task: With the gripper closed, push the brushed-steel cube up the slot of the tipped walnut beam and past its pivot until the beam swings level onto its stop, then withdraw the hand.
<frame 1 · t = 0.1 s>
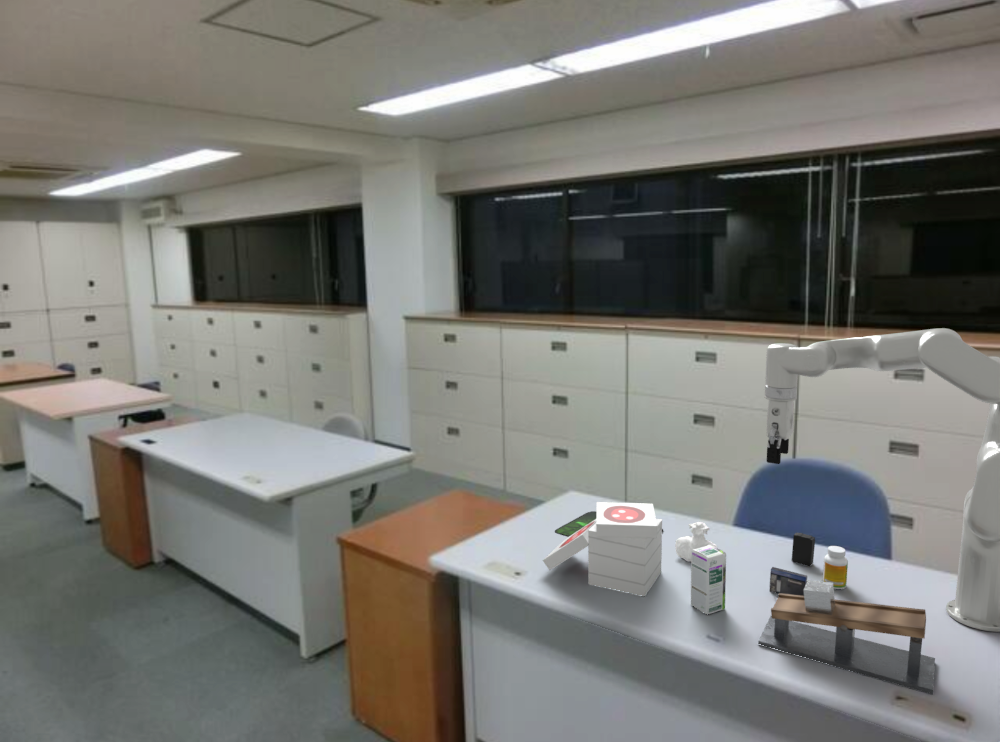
hand: (777, 457, 174), 31 cm above the table, tool pointing down, fingers open, 9 cm apart
mouse mat: (608, 532, 208), on the table
supplement bottle: (834, 585, 172), on the table
pizza boxes: (605, 574, 181), on the table
ink cartridge: (802, 563, 184), on the table
beam: (846, 615, 142), point 9 cm above the table, hinge at 8.3°, touching steel cube
mini dv tape: (787, 595, 168), on the table
white lumpy figure: (697, 559, 188), on the table
steel cube: (820, 608, 144), point 9 cm above the table, tilted 8°, touching beam
pivot stand: (844, 653, 143), on the table
syrup box: (707, 608, 163), on the table
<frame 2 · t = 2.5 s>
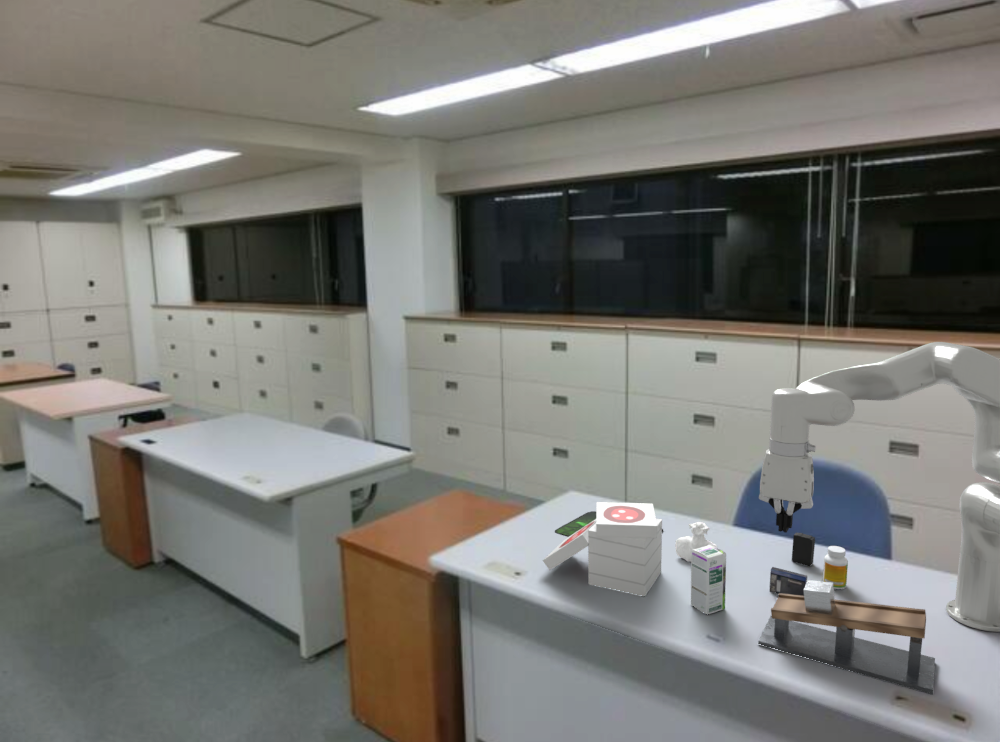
hand: (783, 529, 146), 25 cm above the table, tool pointing down, fingers closed
nothing on the table moved.
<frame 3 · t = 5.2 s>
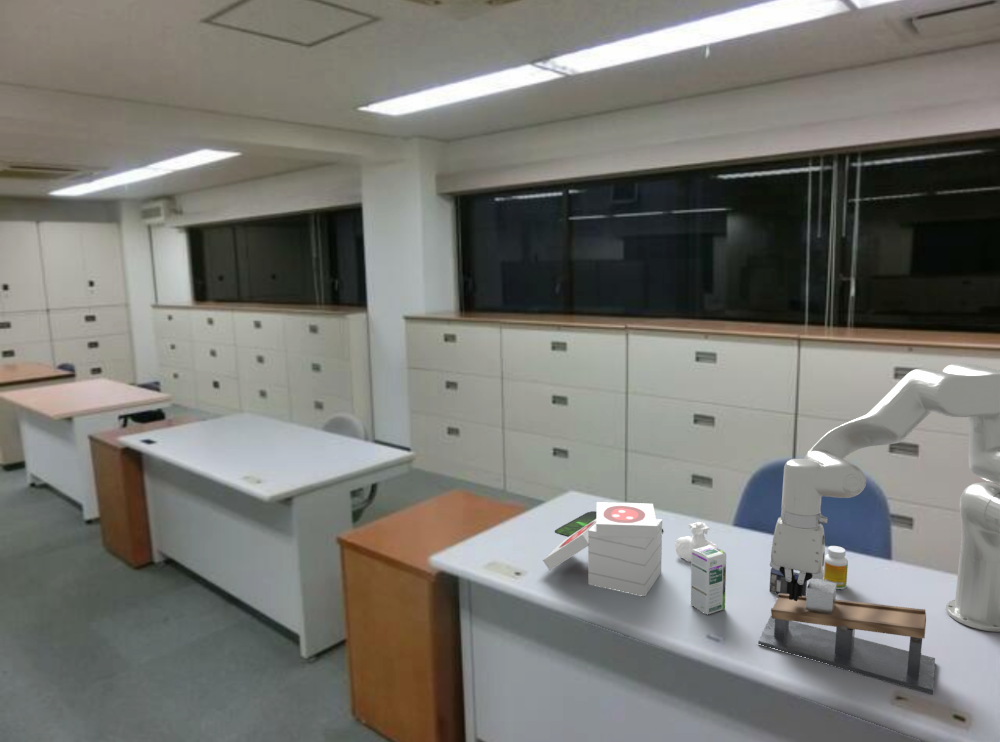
hand: (794, 597, 147), 10 cm above the table, tool pointing down, fingers closed
steel cube: (820, 607, 144), point 9 cm above the table, touching beam, gripper
everything else where it was.
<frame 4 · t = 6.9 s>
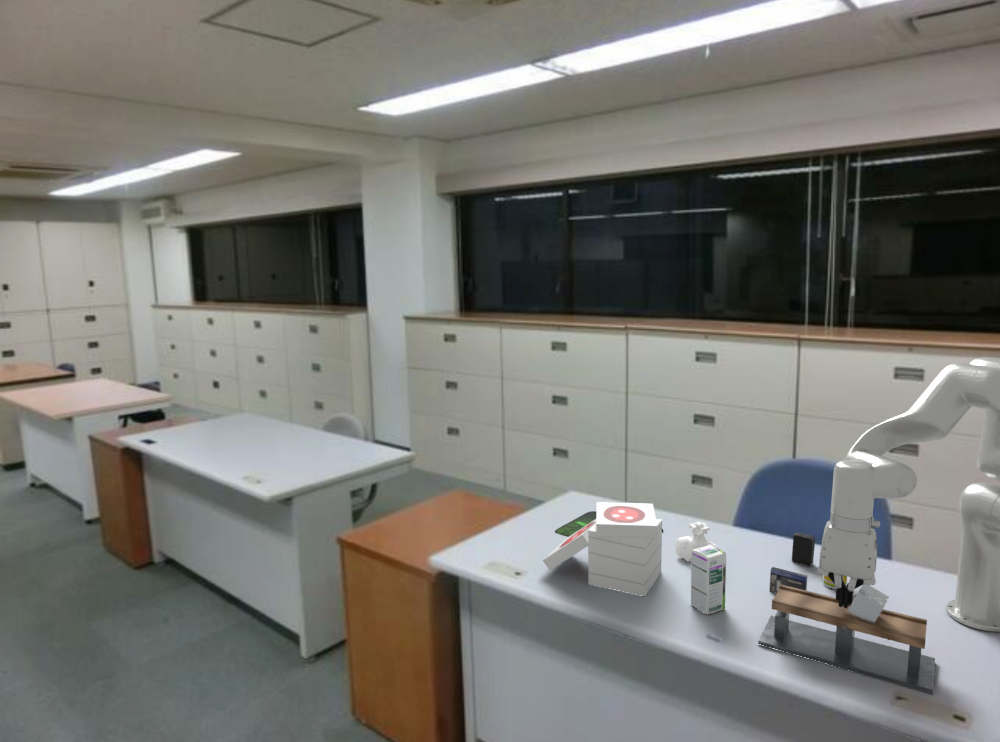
hand: (843, 604, 141), 11 cm above the table, tool pointing down, fingers closed
beam: (846, 615, 142), point 9 cm above the table, hinge at -0.5°
steel cube: (862, 613, 139), point 10 cm above the table, tilted 20°, touching gripper
everything else where it was.
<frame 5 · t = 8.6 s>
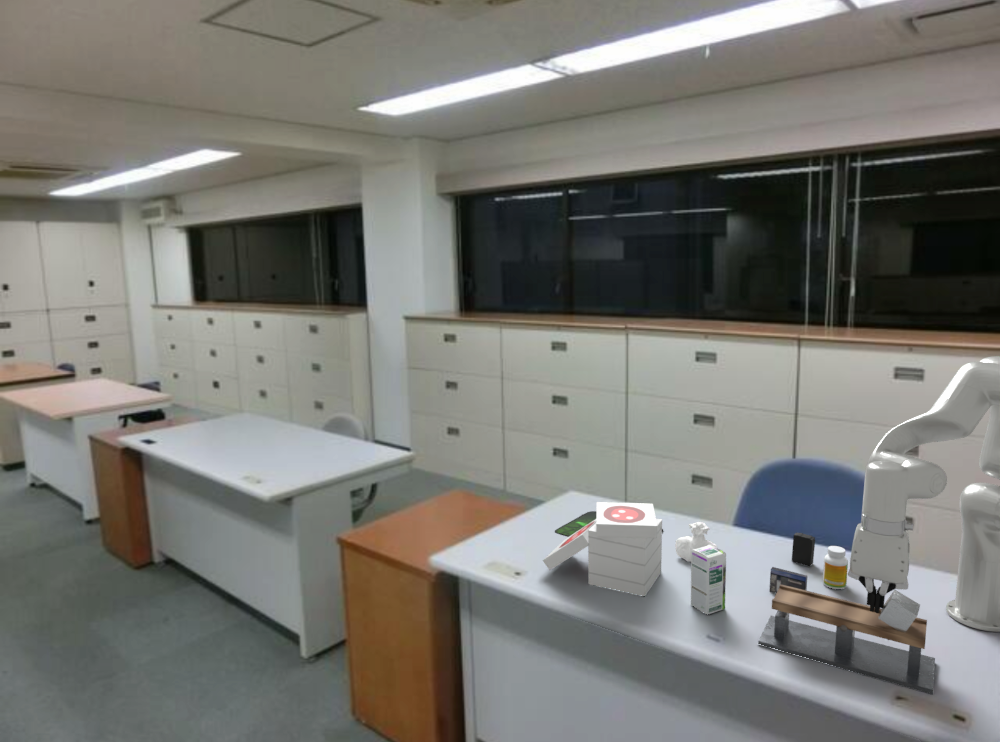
hand: (874, 609, 138), 12 cm above the table, tool pointing down, fingers closed
beam: (846, 615, 142), point 9 cm above the table, hinge at -0.7°, touching steel cube
steel cube: (892, 620, 136), point 10 cm above the table, tilted 23°, touching beam, gripper
everything else where it was.
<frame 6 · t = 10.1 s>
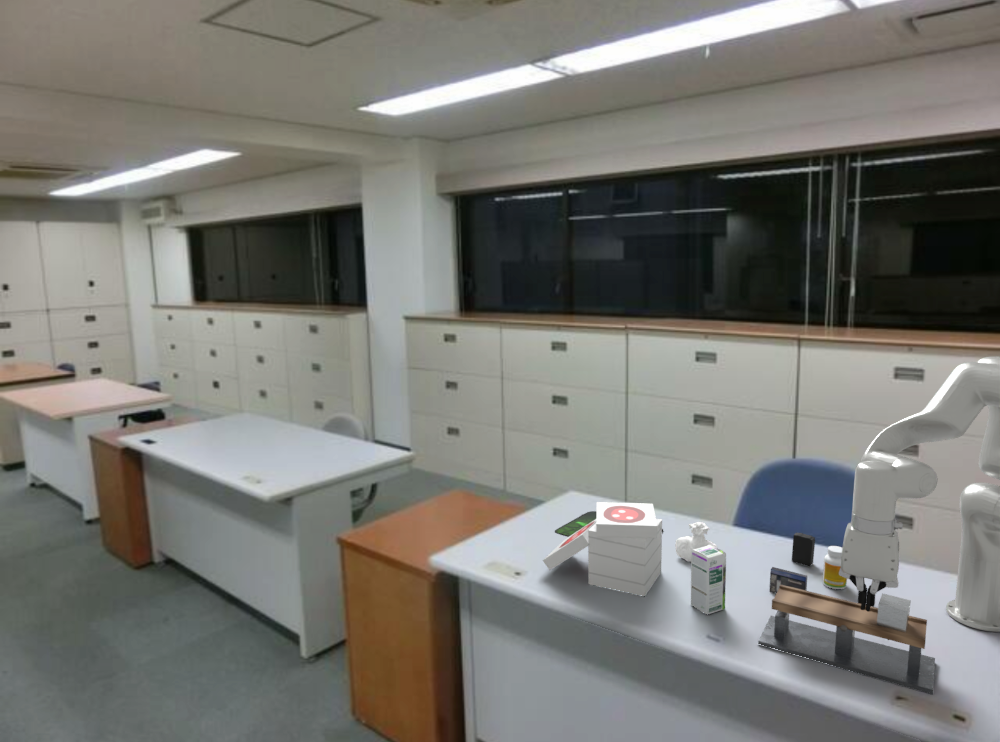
hand: (865, 607, 139), 12 cm above the table, tool pointing down, fingers closed
steel cube: (892, 625, 136), point 9 cm above the table, touching beam
everything else where it was.
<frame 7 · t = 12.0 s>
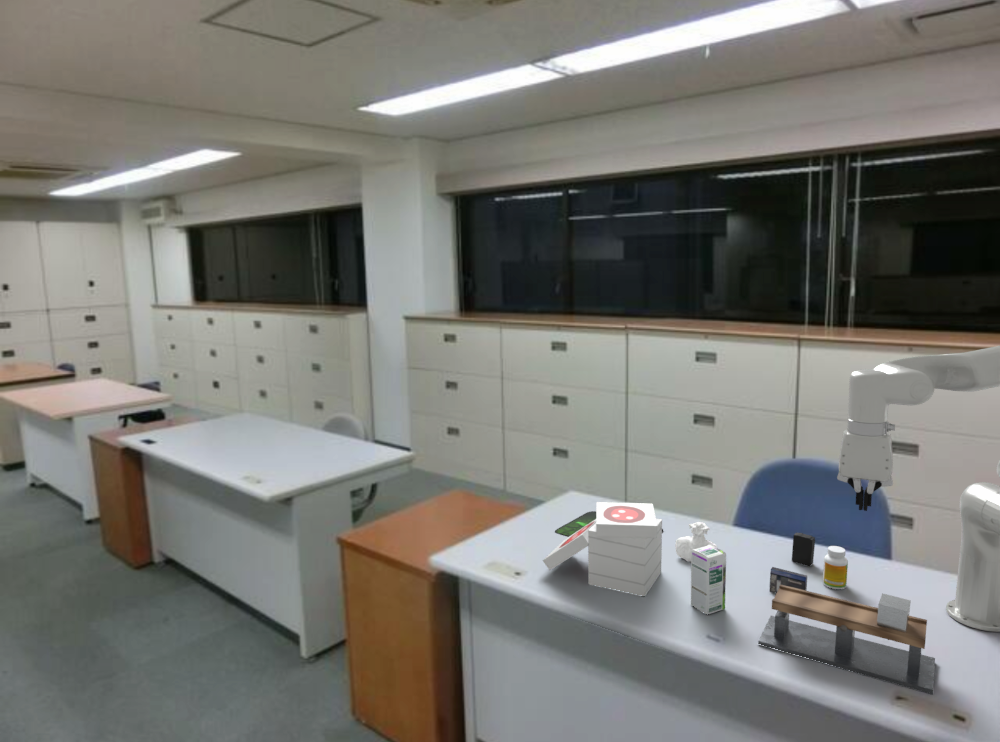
hand: (863, 508, 149), 28 cm above the table, tool pointing down, fingers closed
nothing on the table moved.
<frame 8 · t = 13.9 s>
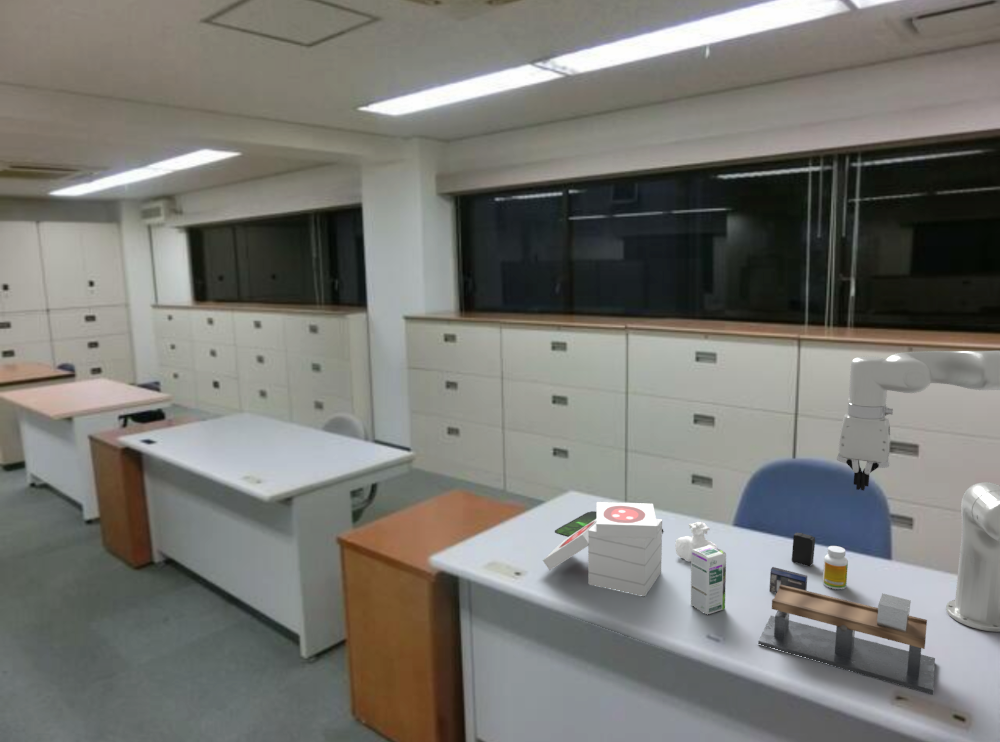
hand: (860, 488, 157), 29 cm above the table, tool pointing down, fingers closed
nothing on the table moved.
at the end: beam at +0° (first picture: +8°); steel cube inside the target area on the beam (0.8 cm from its centre), point 1.4 cm above the beam's base; steel cube tilted 1° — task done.
